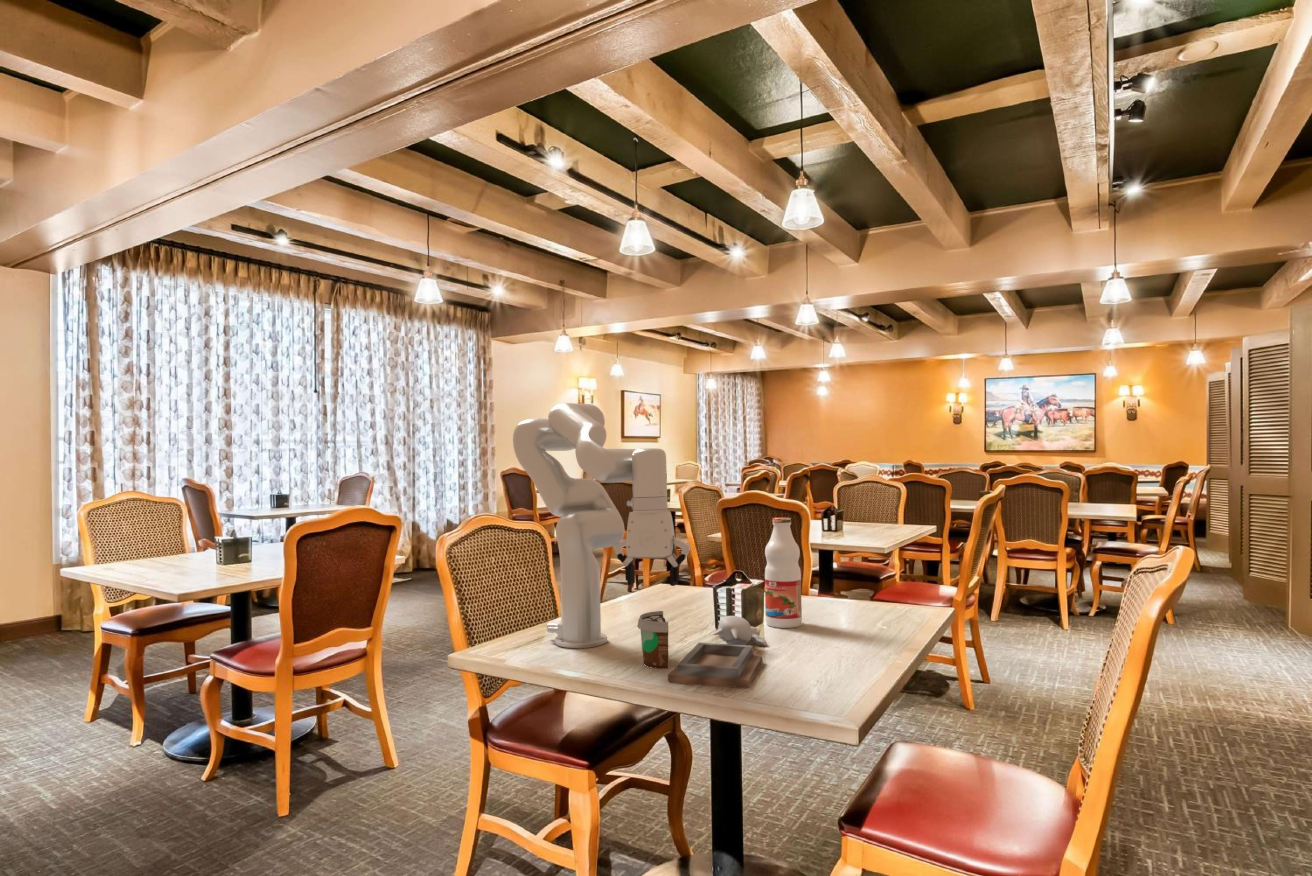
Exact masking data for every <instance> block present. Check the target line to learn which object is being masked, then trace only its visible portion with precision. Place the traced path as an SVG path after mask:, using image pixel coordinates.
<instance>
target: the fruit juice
mask: <svg viewBox="0 0 1312 876" xmlns="http://www.w3.org/2000/svg"><path fill="white" fill-rule="evenodd" d="M771 522H772V525H773V528H772V532H771V535H770V538H769V540H768V542H767V544H766V545H765V548H764V556H765V559H766V560H765V561H766V566H765V568H764V601H765V603H764V605H765V610H764V611H765V623H766V625H767V626H769V627H772V628H778V629H779V628H780V629H792V628H798V627H800V626H801V625H802V619H803V618H802V617H803V616H802V615H803V614H802V613H803V612H802V607H803V606H802V571H801V567H800V565H799V559H800V557H801V556H800V555H801V553H800V552H801V551H800V547H799V545H798V543H797V542H796V540H795V538H794V536H793V533H792V529H791V525H792V518H791V517H772V520H771Z"/></svg>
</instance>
